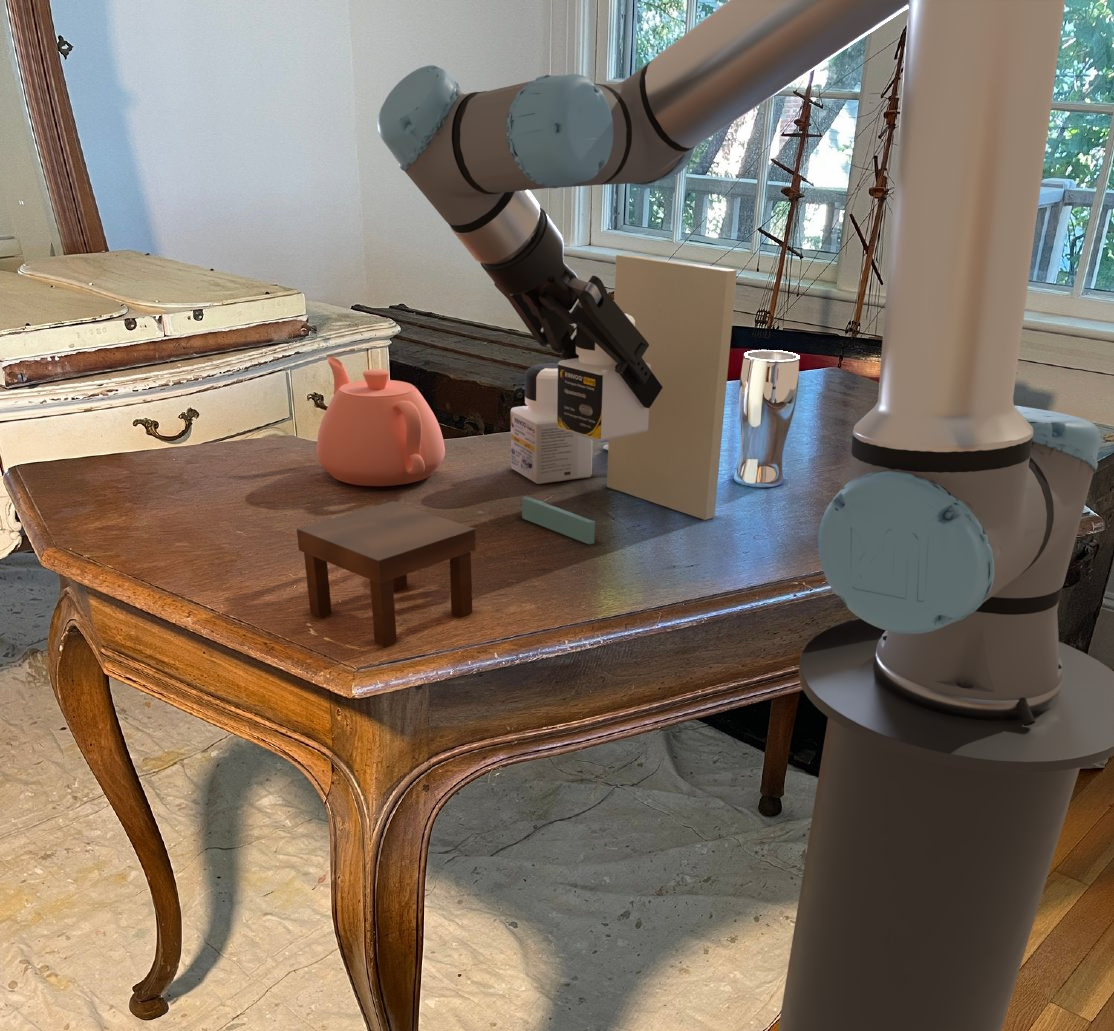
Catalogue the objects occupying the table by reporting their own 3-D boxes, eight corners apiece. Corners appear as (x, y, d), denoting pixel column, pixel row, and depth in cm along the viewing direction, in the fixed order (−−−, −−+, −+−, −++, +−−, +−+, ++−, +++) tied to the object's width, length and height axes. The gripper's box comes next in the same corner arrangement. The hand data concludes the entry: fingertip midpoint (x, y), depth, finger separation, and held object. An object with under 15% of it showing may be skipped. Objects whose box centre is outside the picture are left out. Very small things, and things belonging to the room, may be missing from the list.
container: (510, 468, 140) (509, 362, 134) (563, 461, 143) (565, 357, 137) (537, 485, 134) (537, 375, 128) (592, 477, 137) (596, 369, 131)
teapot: (284, 460, 141) (273, 360, 135) (391, 443, 149) (386, 347, 143) (363, 506, 126) (355, 395, 120) (478, 484, 134) (476, 378, 128)
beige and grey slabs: (714, 517, 125) (737, 270, 112) (605, 551, 115) (616, 283, 102) (615, 484, 135) (626, 254, 122) (507, 512, 125) (506, 265, 112)
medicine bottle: (555, 429, 119) (556, 311, 113) (604, 419, 123) (608, 305, 117) (599, 442, 114) (603, 320, 108) (649, 432, 118) (655, 313, 112)
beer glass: (755, 469, 142) (768, 347, 134) (797, 482, 137) (813, 356, 130) (718, 479, 138) (729, 354, 130) (761, 492, 133) (775, 363, 126)
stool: (477, 612, 100) (475, 528, 96) (384, 650, 93) (378, 560, 89) (398, 581, 107) (393, 500, 103) (305, 613, 100) (296, 528, 96)
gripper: (607, 208, 95) (716, 377, 112) (464, 195, 108) (581, 348, 125) (560, 279, 95) (677, 438, 112) (423, 257, 108) (546, 402, 125)
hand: (626, 390), depth 119 cm, fingers closed on medicine bottle, 7 cm apart
